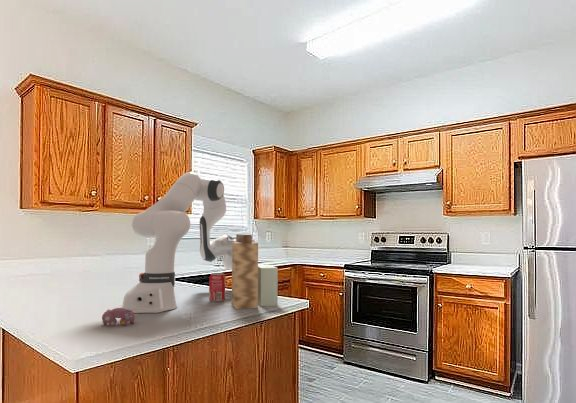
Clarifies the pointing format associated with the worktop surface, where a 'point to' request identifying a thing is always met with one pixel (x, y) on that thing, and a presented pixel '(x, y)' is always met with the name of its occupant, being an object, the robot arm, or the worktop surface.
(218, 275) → the soda can
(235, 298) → the oak stand
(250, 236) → the walnut rod
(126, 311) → the video game controller
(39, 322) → the worktop surface
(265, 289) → the pale green block
